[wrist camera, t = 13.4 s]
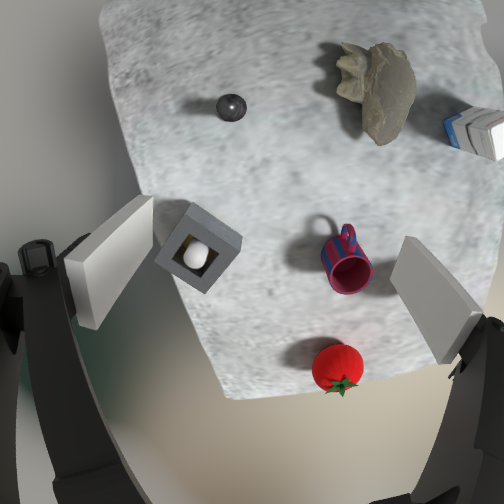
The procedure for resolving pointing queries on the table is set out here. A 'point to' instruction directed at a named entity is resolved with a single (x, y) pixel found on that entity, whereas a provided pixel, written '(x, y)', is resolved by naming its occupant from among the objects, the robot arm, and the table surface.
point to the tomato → (337, 368)
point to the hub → (196, 252)
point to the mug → (346, 263)
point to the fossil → (378, 87)
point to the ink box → (478, 132)
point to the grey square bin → (211, 235)
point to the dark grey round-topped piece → (231, 108)
